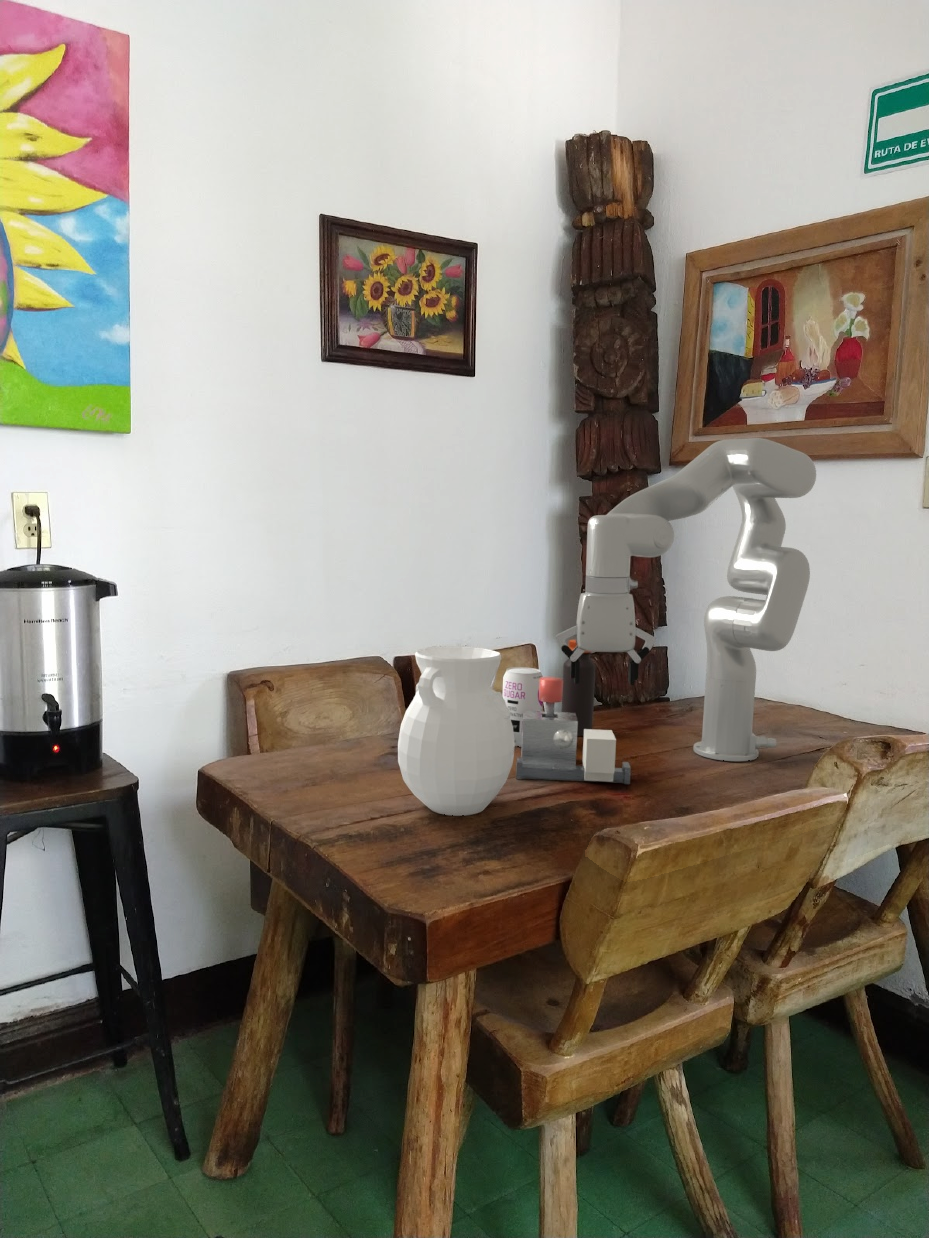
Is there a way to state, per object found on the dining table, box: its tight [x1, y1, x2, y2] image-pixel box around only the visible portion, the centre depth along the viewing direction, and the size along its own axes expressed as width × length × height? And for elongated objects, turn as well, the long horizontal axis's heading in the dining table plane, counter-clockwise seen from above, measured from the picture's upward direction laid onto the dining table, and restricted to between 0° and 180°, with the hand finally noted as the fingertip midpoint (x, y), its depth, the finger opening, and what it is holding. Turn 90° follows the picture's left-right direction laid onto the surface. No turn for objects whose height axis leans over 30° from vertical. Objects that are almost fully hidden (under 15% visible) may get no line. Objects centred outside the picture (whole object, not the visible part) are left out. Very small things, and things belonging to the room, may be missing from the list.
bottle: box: [560, 639, 596, 737], centre depth 197 cm, size 7×7×20 cm
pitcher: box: [397, 645, 516, 817], centre depth 146 cm, size 19×18×25 cm
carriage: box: [582, 728, 617, 783], centre depth 164 cm, size 5×7×8 cm
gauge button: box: [539, 676, 563, 718], centre depth 173 cm, size 4×4×8 cm
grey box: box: [520, 710, 578, 766], centre depth 174 cm, size 10×7×9 cm
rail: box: [515, 756, 632, 785], centre depth 164 cm, size 20×4×3 cm, turn 87°
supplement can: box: [502, 666, 544, 748], centre depth 188 cm, size 8×8×15 cm
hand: (603, 683), depth 162 cm, fingers open, 9 cm apart
